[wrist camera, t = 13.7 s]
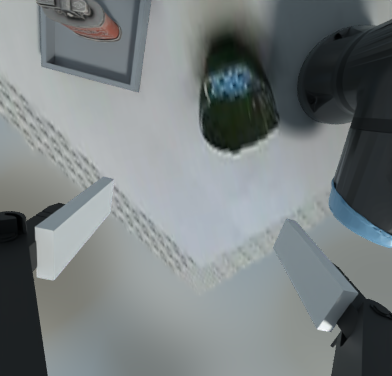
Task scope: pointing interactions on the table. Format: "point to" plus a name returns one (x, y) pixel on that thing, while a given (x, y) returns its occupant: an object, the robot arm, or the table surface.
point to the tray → (100, 46)
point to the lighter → (83, 19)
